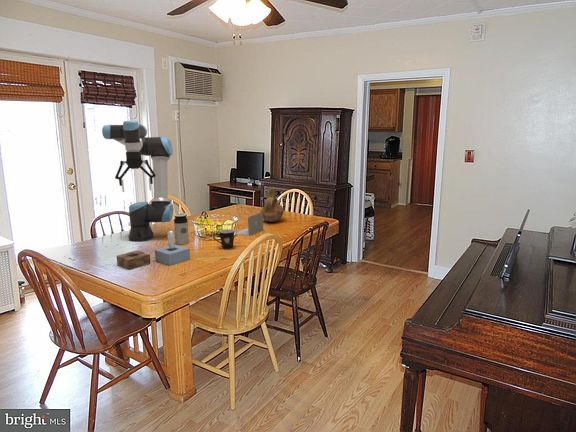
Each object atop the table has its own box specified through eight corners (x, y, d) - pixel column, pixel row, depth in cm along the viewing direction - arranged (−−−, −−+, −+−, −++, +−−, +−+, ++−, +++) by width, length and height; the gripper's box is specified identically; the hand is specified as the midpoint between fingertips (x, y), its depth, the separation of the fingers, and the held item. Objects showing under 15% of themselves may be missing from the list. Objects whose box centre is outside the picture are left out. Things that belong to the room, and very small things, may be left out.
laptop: (248, 228, 290) (247, 210, 287) (263, 230, 284) (263, 211, 281) (233, 234, 274) (232, 215, 271) (249, 236, 268) (248, 217, 266)
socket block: (155, 260, 222) (154, 249, 221) (175, 254, 232) (175, 244, 230) (169, 265, 214) (168, 254, 212) (190, 259, 223) (189, 248, 222)
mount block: (117, 264, 216) (116, 255, 215) (138, 259, 225) (137, 250, 224) (129, 269, 208) (128, 260, 207) (150, 263, 217) (149, 254, 216)
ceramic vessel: (286, 217, 320) (285, 185, 315) (281, 225, 295) (280, 190, 289) (264, 217, 322) (263, 185, 317) (257, 224, 297) (256, 190, 292)
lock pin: (168, 258, 222) (166, 231, 219) (173, 256, 225) (171, 230, 221) (171, 259, 220) (169, 232, 217) (177, 257, 223) (174, 230, 219)
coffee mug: (237, 246, 246) (236, 229, 244) (230, 250, 238) (230, 233, 236) (220, 244, 250) (219, 228, 248) (213, 248, 242) (212, 232, 240)
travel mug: (175, 242, 257) (172, 213, 253) (188, 240, 259) (186, 212, 255) (176, 245, 249) (174, 216, 245) (189, 243, 252) (187, 215, 248)
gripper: (107, 152, 209) (111, 193, 213) (158, 150, 217) (161, 190, 222) (107, 151, 215) (112, 191, 220) (157, 149, 224) (160, 188, 228)
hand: (137, 191), depth 221 cm, fingers open, 13 cm apart
